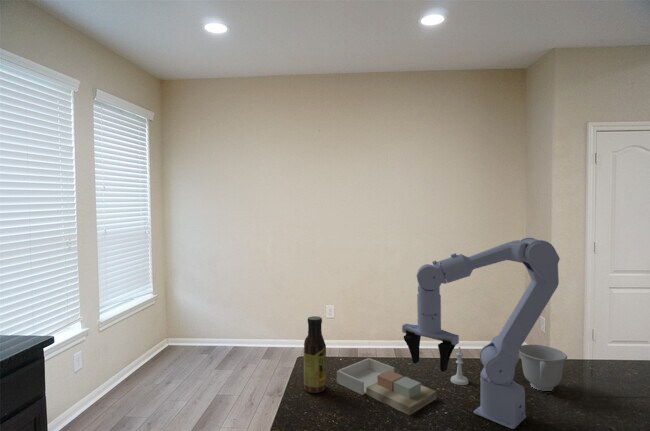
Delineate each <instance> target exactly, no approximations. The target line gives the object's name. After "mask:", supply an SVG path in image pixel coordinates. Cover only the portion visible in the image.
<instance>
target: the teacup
mask: <svg viewBox="0 0 650 431" xmlns="http://www.w3.org/2000/svg"><path fill="white" fill-rule="evenodd" d="M519 355H520V358H521V365H522V366H521V367H522V372H523V376H524V377H525V379H526V380H527V381H529V383H530V384H529V385H531V386H530V387H531V388H532V387H533V388H532V389H534V388H535V389H537V390H536V391H538V390H542V391H552V390H553V389H554V390H555V388H554V387H557V386H559V384H560V383H561V381H562V377H563V371H564V364H565V361H566V360H567V359H568V355H567V354H566V353H565V352H563V351H562V350H560V349H557V348H554V347H552V346H547V345H543V344H542V345H541V344H524V345H523V344H522V346H521V347H520V349H519ZM535 389H534V390H535ZM554 390H553V391H554ZM542 391H541V392H542ZM553 391H552V392H553Z"/></svg>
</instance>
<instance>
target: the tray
mask: <svg viewBox="0 0 650 431" xmlns="http://www.w3.org/2000/svg"><path fill="white" fill-rule="evenodd" d="M388 370H389V371H392V372H395V367H393V366H392V365H389V364H386V363H383V362H381V361H378V360H375V359H373V358H370V357H367V358H365V359H362V360H360V361H358V362H355V363H353V364H350V365H348V366H345V367H343V368H340V369H338V370H336V384H338V385H341V386H342V387H345V388H347V389H348V390H350V391H353V392H355V393H357V394H359V395H361V396H364V395H365V394H366V387H368V386H370V385H372V384H374V383H376V382H377V375H380V374H382V373H384V372H386V371H388Z"/></svg>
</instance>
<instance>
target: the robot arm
mask: <svg viewBox="0 0 650 431" xmlns="http://www.w3.org/2000/svg"><path fill="white" fill-rule="evenodd" d="M560 260H561V258H560V257H559V254H558V252H557V250H556V248H555V247H554V245H553V244H552V243H550V242H549V241H547V240H543V239H541V240H540V239H536V238H534V237H525V238H522V239H521V240H520V239H518V240H512V241H508V242H505V243H503V244H499V245H496V246H494V247H492V248H489V249H487V250H484V251H480V252H478V253H476V254H473V255H470V256H467V255H465V254H462V253H459V254H457V253H452V254H450V257H447V258H445V259H440V260H439V261H437V260H433V261H432V264H424V265H421V266H420V267H419V269H418V270H417V273H416V278H417V280H416V281H417V283H418V286H417V295H416V297H417V298H416V299H417V300H416V301H417V302H416V304H417V306H416V307H417V308H416V309H417V310H416V311H417V324H409V323H404V324H402V325H401V326H402V327H401V329H402V330H401V331H402V333H403V334H405V335H403V340H404V342H405V343H406V346H407V347H408V349H409V353H410V356H411V361H412V364H418V363H419V362H420V344H421V337H423V338H429V339H433V340H437V341H440V343H438V344H437V347H438V351H439V353H438V354H439V359H440V362H439V367H440V372H442V373H444V372H446V371H447V369H448V365H449V361H450V358H451V355H452V352H453V351H454V349H455V347H456V346H457V345H458V344H459V343H460V342H459V341H460V338H459V337H460V336H459V335H458V334H455V333H452V332H449V331H448V330H447V331H446V330H444V329H442V310H441V309H442V306H441V305H442V302H441V301H442V300H441V298H442V295H441V291H440V289H441V288H440V287H441V285H442V284H445V285H446V284H449V283H452V282H455V281H459V280H461V279H465V278H468V277H471V274H472V272H473V271H474V270H476V269H479V268H482V267H487V266H491V265H494V264H497V263H501V262H504V261H511V262H516V263H520V264H521V263H522V264H523V265H524V266H525V268H526V270H527V272H528V275H529V277H530V282H529V284H528V286H527V287H526V289H525V291H524V292H523V294H522V295H521V297H520V299H519V300H518V302H517V303H516V306H515V307H514V309H513V310H512V312H511V314H510V315H509V317H508V319H507V320H506V322H505V324H504V326H503V327H502V329H501V331H500V332H499V334H498V335H496V336H493V337H492V339H491V341H490V342H489V343H488V344H486V345H484V346H483V347H482V348H481V350H480V351H479V360H480V362H481V364H482V365H483V368H482V370H481V372H480V373H479V375H480V383H479V384H480V387H479V388H480V393H479V394H480V396H479V397H480V405H479V406H478V407H476V409H474V410H473V414H474V415H477V416H480V417H482V418H484V419H487V420H489V421H492V422H494V423H497V424H499V425H501V426H503V427H506V428H508V429H510V430H514V429H516V428H517V427H518V426H519V425H520V424H521V423H522V422H523V421H524V420H525V419H526V418H527V414H526V390H525V387H524V386H523V385H521V384H519V383H517V382H516V381H514V377H515V376H516V375H515V374H516V367H517V364H518V362H519V358H520V352H519V349H520V347H521V346H523V344H524V342H525V340H527V338H528V336H529V334H530V332H531V330H533V328H534V326H535V324H536V323H537V320H539V318H540V316H541V314H542V313H543V311H544V310H545V308H546V306H547V305H548V303H549V302H550V300H551V298H552V296H553V294H554V293H555V291H556V290H557V288H558V287H559V262H560Z"/></svg>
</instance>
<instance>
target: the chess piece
mask: <svg viewBox="0 0 650 431" xmlns="http://www.w3.org/2000/svg"><path fill="white" fill-rule="evenodd" d="M457 350H458V352H456V353H455V356H456V359H457V360H456V361H455V363H456V364H457V369H456V374H454V375H452V376H451V377H450V382H451V383H453V384H455V385H458V386H466V385H468V384H469V379H468V378H467V377H466V376H464V374H463V370H462V369H463V368H462V365H463V364H464V361H463V357H464V353H462V350H461V347H460V346H458V348H457Z"/></svg>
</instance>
